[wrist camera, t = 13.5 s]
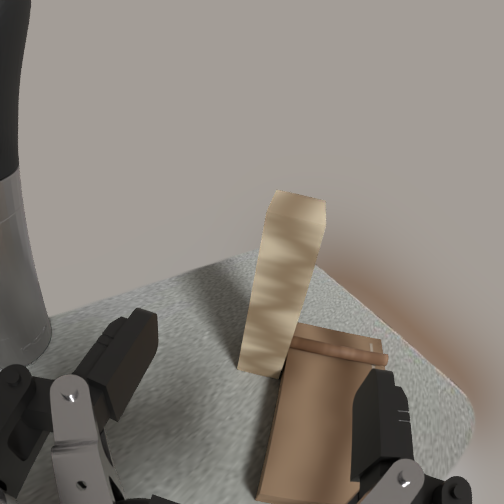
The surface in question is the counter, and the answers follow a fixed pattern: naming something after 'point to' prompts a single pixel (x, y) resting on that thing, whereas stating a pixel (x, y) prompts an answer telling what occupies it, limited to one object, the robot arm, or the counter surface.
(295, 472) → the walnut board
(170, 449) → the counter surface
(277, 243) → the l-shaped wooden block
